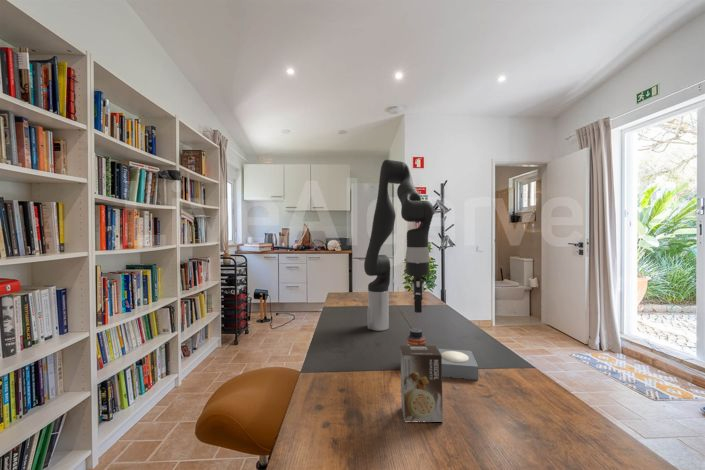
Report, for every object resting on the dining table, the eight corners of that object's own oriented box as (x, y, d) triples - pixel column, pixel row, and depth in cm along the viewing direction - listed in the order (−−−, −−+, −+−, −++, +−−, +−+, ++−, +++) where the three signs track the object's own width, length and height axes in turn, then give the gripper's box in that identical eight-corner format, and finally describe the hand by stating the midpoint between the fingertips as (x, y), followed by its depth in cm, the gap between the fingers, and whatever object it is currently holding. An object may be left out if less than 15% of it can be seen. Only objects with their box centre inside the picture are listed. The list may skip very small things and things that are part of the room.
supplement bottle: (426, 361, 105) (426, 328, 105) (424, 368, 100) (424, 333, 100) (409, 358, 107) (408, 326, 107) (406, 366, 102) (406, 332, 101)
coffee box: (437, 408, 78) (437, 344, 78) (443, 424, 72) (443, 355, 71) (400, 407, 78) (400, 344, 78) (403, 423, 72) (403, 354, 72)
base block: (436, 376, 94) (436, 362, 94) (434, 359, 106) (434, 347, 106) (478, 379, 92) (478, 365, 92) (471, 362, 104) (471, 350, 104)
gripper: (406, 258, 111) (406, 303, 111) (405, 262, 97) (406, 314, 97) (428, 258, 109) (428, 304, 110) (430, 262, 95) (430, 315, 96)
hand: (417, 308), depth 103 cm, fingers open, 8 cm apart
